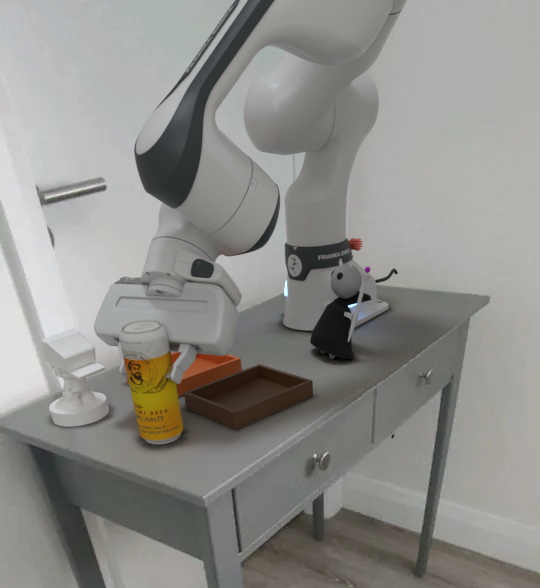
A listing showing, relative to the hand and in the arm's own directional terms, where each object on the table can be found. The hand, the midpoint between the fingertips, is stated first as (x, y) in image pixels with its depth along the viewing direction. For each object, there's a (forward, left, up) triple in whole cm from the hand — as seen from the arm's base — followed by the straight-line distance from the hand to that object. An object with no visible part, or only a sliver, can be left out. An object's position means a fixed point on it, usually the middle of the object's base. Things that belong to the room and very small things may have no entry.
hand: (149, 379), depth 84 cm
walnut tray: (-16, 0, -9) cm, 19 cm away
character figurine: (+3, -17, -9) cm, 20 cm away
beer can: (-1, 0, -9) cm, 9 cm away
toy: (-40, -4, -9) cm, 42 cm away
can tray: (-16, -17, -9) cm, 25 cm away
